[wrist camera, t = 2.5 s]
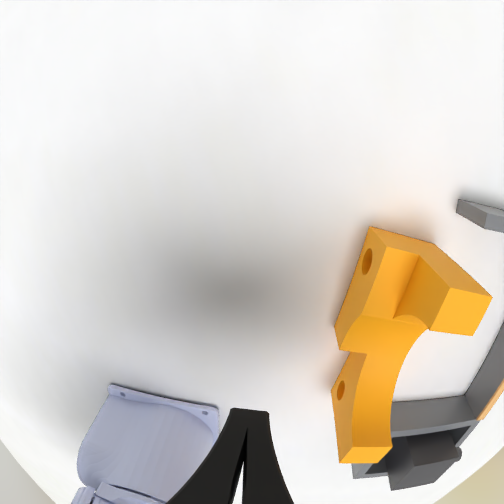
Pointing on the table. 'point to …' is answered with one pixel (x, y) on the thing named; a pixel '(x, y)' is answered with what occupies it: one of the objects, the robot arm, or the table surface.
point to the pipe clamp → (393, 331)
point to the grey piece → (441, 407)
